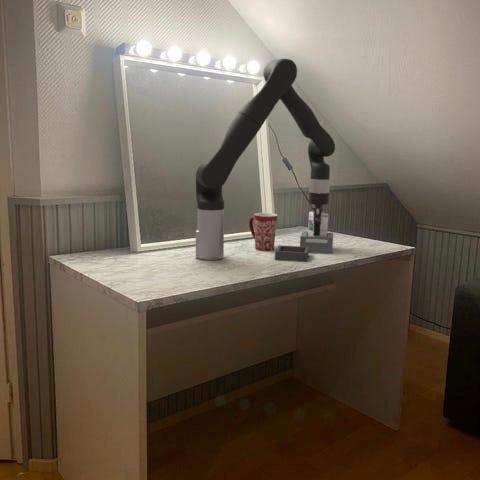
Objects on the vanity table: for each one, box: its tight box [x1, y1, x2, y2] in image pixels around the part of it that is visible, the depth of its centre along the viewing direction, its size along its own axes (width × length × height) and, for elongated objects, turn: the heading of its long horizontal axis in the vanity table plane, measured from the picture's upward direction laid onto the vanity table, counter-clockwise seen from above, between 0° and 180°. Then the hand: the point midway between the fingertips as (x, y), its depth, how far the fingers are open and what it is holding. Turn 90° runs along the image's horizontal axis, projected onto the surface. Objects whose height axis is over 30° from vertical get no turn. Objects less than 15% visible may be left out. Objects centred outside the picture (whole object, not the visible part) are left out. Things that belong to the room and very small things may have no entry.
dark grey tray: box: [274, 245, 309, 263], centre depth 176 cm, size 11×11×3 cm
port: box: [299, 230, 334, 255], centre depth 189 cm, size 12×12×6 cm
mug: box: [248, 212, 279, 252], centre depth 190 cm, size 13×9×14 cm
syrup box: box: [307, 211, 329, 237], centre depth 189 cm, size 6×6×14 cm
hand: (317, 233), depth 189 cm, fingers open, 8 cm apart
